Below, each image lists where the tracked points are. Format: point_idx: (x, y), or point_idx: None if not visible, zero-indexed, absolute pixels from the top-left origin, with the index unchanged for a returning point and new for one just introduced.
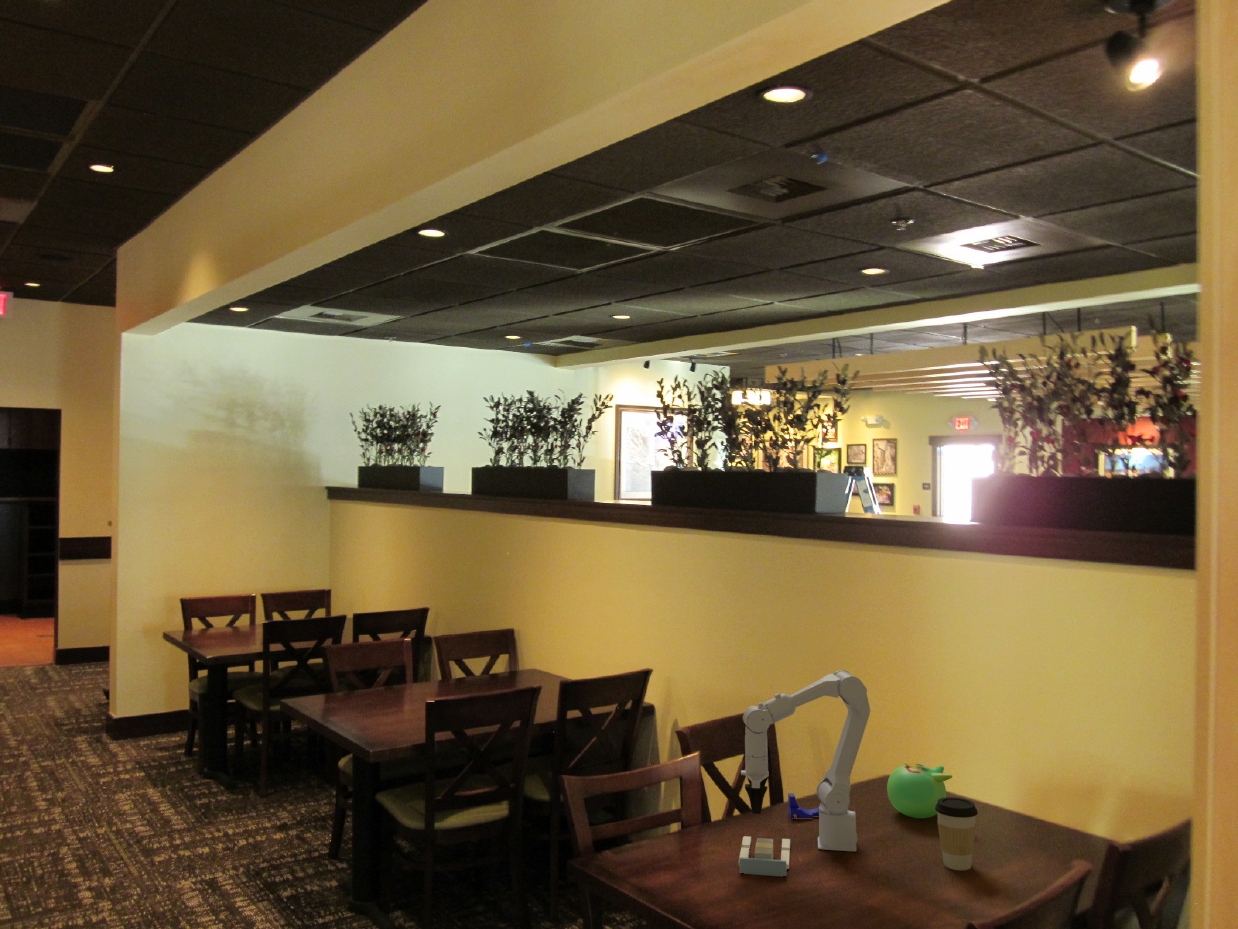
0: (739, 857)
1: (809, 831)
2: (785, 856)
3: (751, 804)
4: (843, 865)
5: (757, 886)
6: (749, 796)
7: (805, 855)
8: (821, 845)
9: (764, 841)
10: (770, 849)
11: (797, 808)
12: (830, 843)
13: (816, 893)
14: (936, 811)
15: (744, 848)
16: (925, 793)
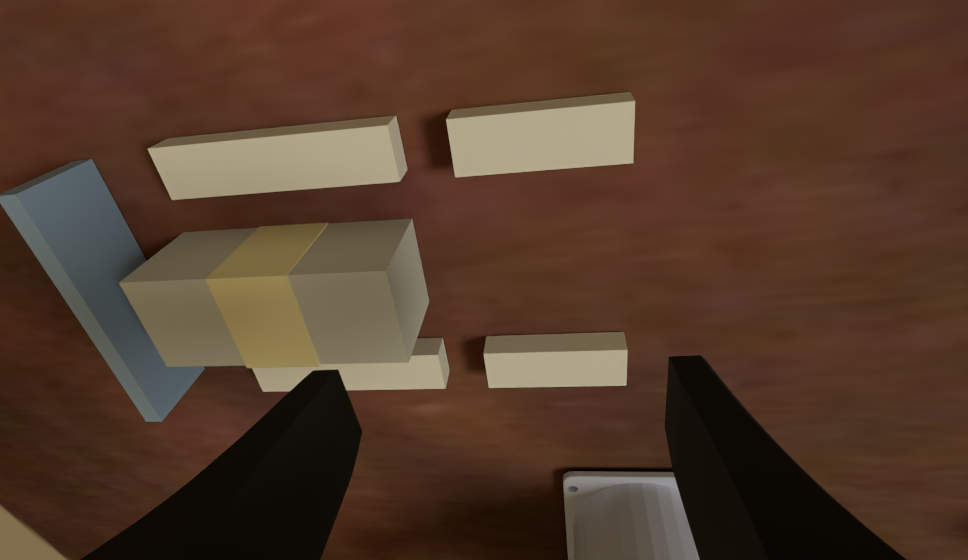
0: (206, 143)
1: (844, 439)
2: (356, 376)
3: (239, 449)
4: (422, 528)
5: (5, 267)
6: (111, 551)
7: (480, 426)
8: (595, 488)
9: (339, 320)
10: (227, 359)
11: None
12: (575, 531)
13: (119, 456)
14: None
15: (376, 151)
16: None
